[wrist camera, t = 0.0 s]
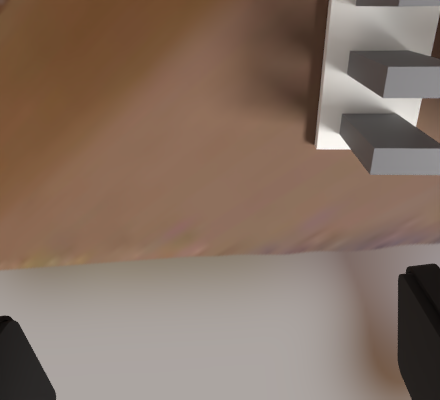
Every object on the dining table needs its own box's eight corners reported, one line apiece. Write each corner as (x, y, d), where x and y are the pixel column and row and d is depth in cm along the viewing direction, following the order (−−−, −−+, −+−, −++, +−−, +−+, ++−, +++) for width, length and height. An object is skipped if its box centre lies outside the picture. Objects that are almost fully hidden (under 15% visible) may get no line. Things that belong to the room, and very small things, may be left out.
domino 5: (342, 113, 37) (374, 148, 28) (396, 113, 37) (447, 148, 28) (339, 134, 38) (370, 174, 29) (392, 134, 38) (440, 175, 29)
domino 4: (349, 50, 34) (388, 66, 26) (408, 50, 34) (467, 66, 25) (346, 74, 35) (382, 98, 26) (403, 74, 35) (459, 98, 26)
